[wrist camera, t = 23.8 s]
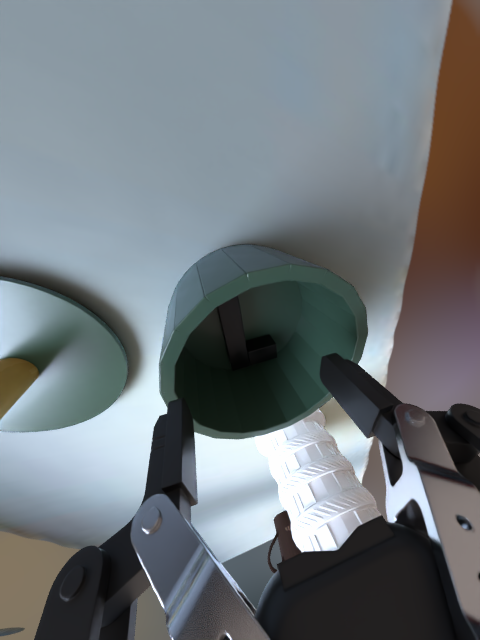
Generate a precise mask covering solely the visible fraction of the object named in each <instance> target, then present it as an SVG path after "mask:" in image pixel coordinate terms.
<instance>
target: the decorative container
mask: <svg viewBox="0 0 480 640" xmlns="http://www.w3.org/2000/svg"><path fill="white" fill-rule="evenodd" d="M325 423H326V420H325V416H324V415H323V413H322V412H321V410H320V409H317V410H316V411H315V412H314V413H312V414H311V415H309V416H307V417H306V418H304V419H302V420H300V421H298V422H297V423H295V424H293V425H291V426H288V427H286V428H283V429H281V430H278V431H275V432H272V433H269V434H266V435H263V436H257V437H255V442H256V445H257V448H258V451H259V452H260V453H261V454H262V455H264V456H267V457H268V458H269V468H270V472H271V474H272V476H273V477H274V479H275V480H277V483H278V486H279V498H280V502H281V504H282V505H283V508H284V509H285V510H287V512H288V515H289V518H290V520H291V532H292V538H293V540H294V542H295V544H296V546H297V547H298V548H299V549H300V550H301V552H304V551H335V550H338V549H339V548H340V547H341V546H342V544H343V543H344V542H345V541H346V540H347V538H348V537H349V536H350V535H351V534H352V533H353V531H354V530H355V529H356V528H357V527H358V526H359V525H361V524H364V523H366V522H368V521H370V520H372V519H374V518H376V517H378V516H381V514H380V512H379V510H378V509H377V504H376V502H375V499H374V497H373V496H372V494H371V493H370V492H369V491H368V490H367V489H366V488H365V487H363V486H362V485H361V483H360V482H359V480H358V479H357V477H356V475H355V471H354V469H353V466H352V465H351V463H350V462H349V461H348V460H347V459H346V458H345V457H344V456H342V454H341V453H340V451H339V450H338V448H337V444H336V441H335V439H334V438H333V437H332V436H331V435H330V434H329V433H328V432H327V431H326V430H325V428H324V427H325Z"/></svg>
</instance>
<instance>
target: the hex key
mask: <svg viewBox="0 0 480 640" xmlns="http://www.w3.org/2000/svg"><path fill="white" fill-rule="evenodd" d="M216 308H217V313H218V317H219V321H220V325H221V329H222V333H223V337H224V341H225V346H226V350H227V354H228V358H229V362H230V365H231V368H232V371H235V370H238V369H241V368H245V367H248V366H252V365H255V364H258V363H261V362H265V361H268V360H271V359H274V358H277V344H276V343H275V341H274V340H273V338H272V337H271V336H270V334H268V335H265V336H261V337H258V338H254V339H251V340H247V341H246V339H245V333H244V327H243V321H242V315H241V309H240V303H239V297H238V295H237V296H236V297H234V298H232V299H230V300H229V301H227V302H225V303H223V304H221V305H220V306H218V307H216Z"/></svg>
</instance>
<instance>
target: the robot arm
mask: <svg viewBox="0 0 480 640" xmlns="http://www.w3.org/2000/svg"><path fill="white" fill-rule="evenodd" d="M319 375H320V379H321V382H322V383H323V385H324V386H325V387H326V388H327V390H328V391H329V392H330V393H331V395H332V396H333V397H334V398H335V399H336V401H337V402H338V403H339V404H340V406H341V407H342V408H343V409H344V410H345V412H346V413H347V414H348V415H349V417H350V418H351V419H352V420H353V421H354V423H355V424H356V425H357V426H358V428H359V429H360V430H361V431H362V432H363V434H364V435H365V436H366V437H367V439H368V438H370V437H373V436H376V437H377V438H378V439H379V448H380V454H381V459H382V464H383V470H384V476H385V481H386V488H387V493H386V512H387V519H388V522H386V521H385V519H384V518H383V516H382V515H381V516H378V517H376V518H374V519H372V520H370V521H368V522H366V523H364V524H361V525H359V526H358V527H357V528H356V529H355V530H354V531H353V533H352V534H351V535H350V536H349V537H348V538H347V540H346V541H345V542H344V543H343V544H342V546H341V547H340V548H339V549H338V550H335V551H304V552H302V553H300V554H298V555H296V556H294V557H291V558H289V559H287V560H285V561H283V562H281V563H279V564H277V567H278V570H277V572H276V573H275V574H274V575H273V576H272V577H271V579H270V580H269V582H268V583H267V585H266V587H265V589H264V591H263V593H262V596H261V599H260V601H259V604H258V607H257V610H256V609H255V608H254V606H253V605H252V604H251V602H250V601H249V600H248V598H247V597H246V596H245V594H244V593H243V591H242V590H241V589H240V587H239V586H238V585H237V584H236V582H235V581H234V579H233V578H232V577H231V575H230V574H229V573H228V572H227V570H226V569H225V568H224V566H223V565H222V564H221V563H220V561H219V560H218V559H217V557H216V556H215V555H214V553H213V552H212V550H211V549H210V548H209V546H208V545H207V544H206V542H205V541H204V540H203V538H202V537H201V536H200V534H199V533H198V532H197V530H196V529H195V527H194V526H193V525H192V523H191V506H193V505H196V504H198V500H197V480H196V460H195V440H194V423H193V418H192V414H191V412H190V409H189V407H188V405H187V403H186V400H185V398H184V397H183V398H179V399H176V400H173V401H169V403H168V410H167V414H165V415H161V416H159V418H158V420H157V422H156V424H155V426H154V431H153V438H152V439H153V442H152V446H151V453H150V460H149V468H148V475H147V482H146V490H145V495H144V498H143V501H142V504H141V506H140V508H139V509H138V511H137V513H136V514H135V516H134V517H133V518H132V520H131V521H130V522H129V523H128V524H127V525H126V526H125V527H123V528H122V529H121V530H120V531H118V532H117V533H116V534H115V535H113V536H112V537H111V538H110V539H108V540H107V541H106V542H105V543H103V544H102V545H101V546H100V547H96V546H88V547H85V548H83V549H81V550H79V551H78V552H77V553H76V554H75V555H73V556H72V557H71V558H70V559H69V560H68V562H67V563H66V564H65V565H64V567H63V568H62V570H61V571H60V572H59V574H58V575H57V577H56V579H55V581H54V583H53V585H52V587H51V590H50V592H49V595H48V598H47V601H46V604H45V607H44V610H43V614H42V617H41V620H40V623H39V626H38V629H37V632H36V635H35V639H34V640H134V636H135V624H136V611H137V600H138V597H139V596H140V595H141V594H142V593H143V592H144V591H145V590H146V589H147V588H148V587H149V586H150V585H151V584H152V586H153V588H154V590H155V592H156V594H157V596H158V598H159V600H160V602H161V605H162V607H163V609H164V611H165V614H166V625H167V629H168V632H169V635H170V638H171V640H480V457H479V456H478V454H479V453H480V409H478V408H476V407H473V406H470V405H466V404H454V405H453V406H451V408H450V409H449V410H448V411H424V410H423V409H421V408H419V407H417V406H414V405H411V404H404V403H402V402H401V401H400V400H398V399H397V398H396V397H395V396H394V395H393V394H391V393H390V392H389V391H388V390H387V389H386V388H384V387H383V386H382V385H381V384H380V383H379V382H378V381H376V380H375V379H374V378H372V376H371V375H369V374H368V373H367V372H365V370H364V369H362V368H361V367H360V366H359V365H358V364H356V363H354V362H352V361H350V360H348V359H345V360H344V359H343V358H342V357H341V356H340V355H339V354H337V353H332V354H328V355H325V356H322V358H321V366H320V373H319Z"/></svg>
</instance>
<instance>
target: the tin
mask: <svg viewBox="0 0 480 640" xmlns="http://www.w3.org/2000/svg"><path fill="white" fill-rule="evenodd" d="M237 295H238V297H239V303H240V309H241V315H242V321H243V327H244V333H245V339H246V341H247V340H251V339H254V338H258V337H261V336H265V335H268V334H270V336H271V337H272V338H273V340H274V341H275V343H276V344H277V358H274V359H271V360H268V361H265V362H261V363H258V364H255V365H252V366H248V367H245V368H241V369H238V370H235V371H232V368H231V365H230V362H229V358H228V354H227V350H226V346H225V341H224V337H223V333H222V329H221V325H220V321H219V317H218V313H217V308H216V307H218V306H220V305H221V304H223V303H225V302H227V301H229V300H230V299H232V298H234V297H236V296H237ZM367 335H368V327H367V314H366V308H365V306H364V304H363V302H362V300H361V299H360V297H359V295H358V293H357V292H356V290H355V288H354V286H352V285H351V284H350V283H348V282H347V281H345V280H344V279H342V278H341V277H339V276H338V275H336V274H334V273H333V272H331V271H330V270H328V269H326V268H323V267H320V266H318V265H315V264H312V263H310V262H307V261H305V260H302V259H299V258H297V257H294V256H291V255H289V254H286V253H283V252H281V251H278V250H276V249H273V248H268V247H264V246H259V245H251V244H242V245H233V246H229V247H225V248H222V249H219V250H217V251H214V252H212V253H210V254H208V255H207V256H205V257H203V258H202V259H200V260H199V261H198V262H196V263H195V264H194V265H193V266H192V267H191V268H190V269H189V270H188V271H187V272H186V273H185V274H184V276H183V277H182V278H181V280H180V281H179V283H178V284H177V286H176V288H175V290H174V293H173V296H172V298H171V301H170V304H169V307H168V313H167V319H166V325H165V331H164V337H163V343H162V349H161V355H160V361H159V389H160V394H161V396H162V398H163V400H164V402H165V404H166V406H167V408H168V403H169V401H173V400H176V399H179V398H183V397H184V398H185V400H186V403H187V405H188V407H189V409H190V412H191V414H192V418H193V423H194V432H196V433H199V434H203V435H206V436H209V437H212V438H220V439H244V438H251V437H257V436H263V435H266V434H269V433H272V432H275V431H278V430H281V429H283V428H286V427H288V426H291V425H293V424H295V423H297V422H298V421H300V420H302V419H304V418H306V417H307V416H309V415H311V414H312V413H314V412H315V411H316V410H317V409H319V408H320V407H321V406H322V405H324V404H325V403H326V402H328V401H329V400H330V399H331V398H332V397H333V396H332V395H331V393H330V392H329V391H328V390H327V388H326V387H325V386H324V385H323V383H322V382H321V379H320V375H319V373H320V366H321V358H322V356H325V355H328V354H332V353H337V354H339V355H340V356H341V357H342V358H343V359H344V360H345V359H348V360H350V361H352V362H354V363H356V364H358V363H359V361H360V359H361V357H362V354H363V350H364V346H365V343H366V339H367Z"/></svg>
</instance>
